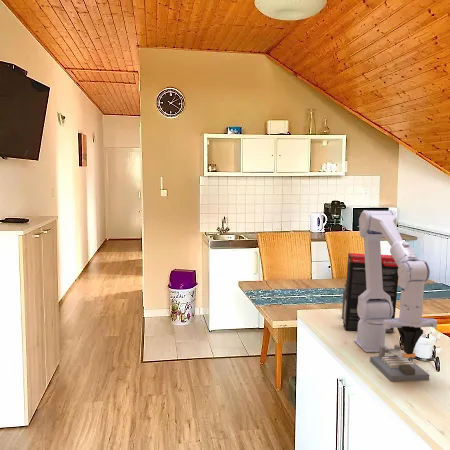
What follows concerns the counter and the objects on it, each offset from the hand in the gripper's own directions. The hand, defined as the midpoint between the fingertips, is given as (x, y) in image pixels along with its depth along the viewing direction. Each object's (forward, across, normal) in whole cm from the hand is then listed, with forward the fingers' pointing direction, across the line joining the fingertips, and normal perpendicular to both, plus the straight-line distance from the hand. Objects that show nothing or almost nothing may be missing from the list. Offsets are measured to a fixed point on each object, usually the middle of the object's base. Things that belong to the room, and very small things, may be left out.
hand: (408, 352), depth 126 cm
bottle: (+6, +4, +49) cm, 50 cm away
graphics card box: (+6, +6, +37) cm, 38 cm away
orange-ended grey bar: (+2, 0, +5) cm, 5 cm away
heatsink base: (+7, 0, +5) cm, 8 cm away
